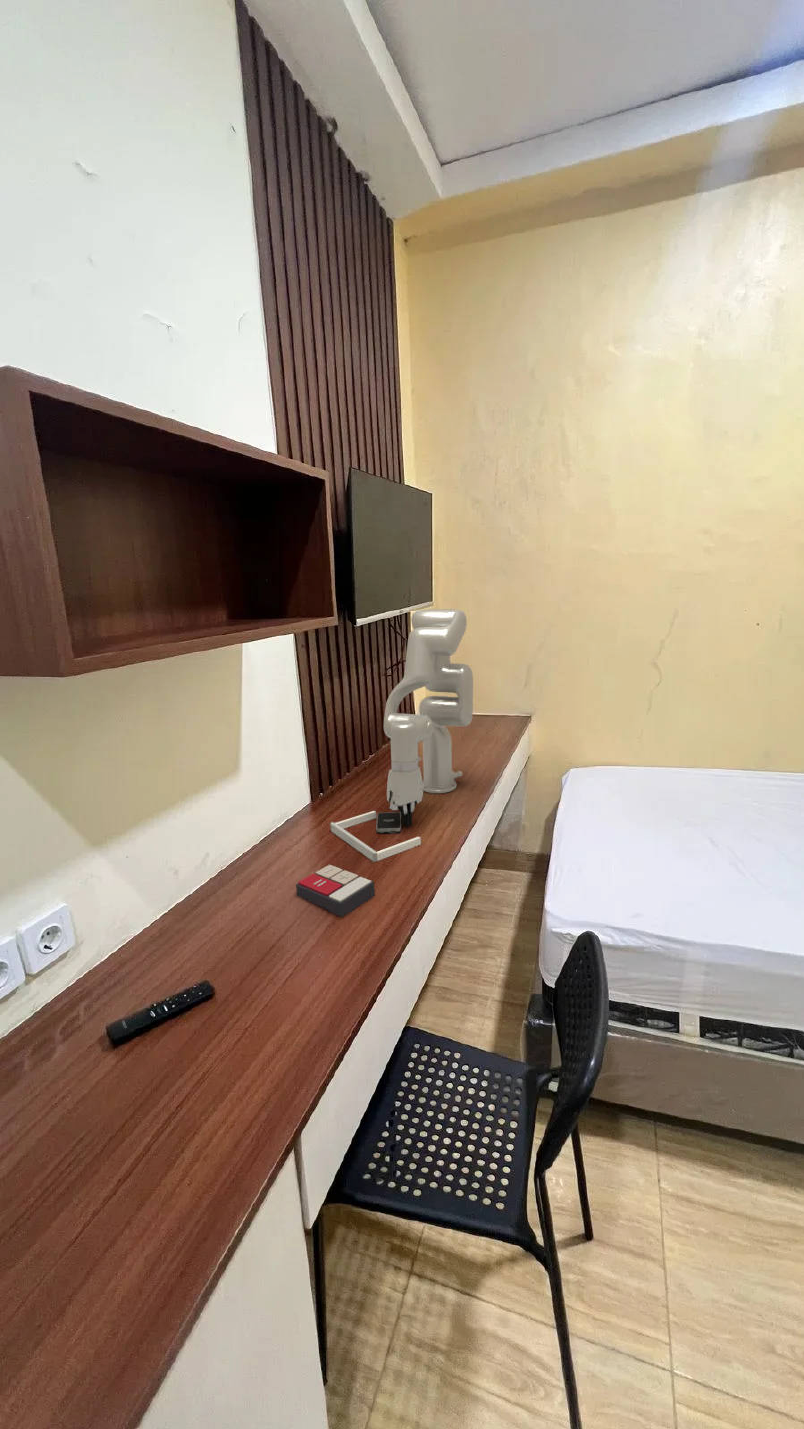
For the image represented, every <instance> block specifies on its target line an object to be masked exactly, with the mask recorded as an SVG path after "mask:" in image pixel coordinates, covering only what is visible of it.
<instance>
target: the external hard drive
mask: <svg viewBox="0 0 804 1429" xmlns="http://www.w3.org/2000/svg"><path fill="white" fill-rule="evenodd" d="M375 831H376V834H377V835H383V834H384V835H385V834H386V835H389V834H390V835H391V834H392V835H393V834H401V832H402V823H401V812H400V811H398V812H397V811H396V812H392V811H390V812H378V813H376V828H375Z"/></svg>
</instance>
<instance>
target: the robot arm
mask: <svg viewBox="0 0 804 1429" xmlns="http://www.w3.org/2000/svg"><path fill="white" fill-rule="evenodd" d="M410 621H411V627H412V630H411V631H410V632H409V634H408V639H407V647H406V654H405V655H406V656H405V657H406V658H405V667H404V674H403V677H402V680H400V681H399V683H398V684H397V685H395V687H394V688H393V689H392V691H391V692H390V694H389V696H388V698H387V699H386V700H387V701H386V702H385V707H384V708H385V709H384V716H383V731H384V734H385V736H386V737H388V738H389V739H390V757H391V769H389V770H388V776H387V785H386V800H387V802H388V803H390V804H389V809H390V810H392V811H398V812H400V813H401V825H404V826H405V827H407V828H408V827H410V826H412V825H413V812H414V811H415V807H416V805H417V804H419V803H421V802H422V801H423V796H424V792H426V793H428V794H445V793H450V792H453V791H454V790H455V789H456V788H457V782H456V781H455V780H456V779H457V778H460V777H463V772H462V771H461V770H459V771H456V772H455V771H454V770H453V769H452V767H453V766H452V735H451V733H450V731H449V730H448V728H447V726H449V727H467V726H469V725H470V724H471V722H472V720H473V714H474V713H473V712H474V710H473V709H474V706H473V705H474V704H473V703H474V677H473V676H474V675H473V671H472V669H471V666H470V665H468V664H465V663H459V662H458V663H454V662H453V663H452V662H451V656H453V655H454V654H455V653H457V651H458V648H459V646H460V644H461V642H462V639H463V637H464V635H465V632H466V630H467V623H468V622H467V616H466V614H465V612H464V611H463V610H461V609H458V608H457V609H452V608H451V609H449V608H446V609H445V608H444V609H440V608H437V609H436V608H430V609H419V610H416V611H414V612H413V613H412V615H411V620H410ZM424 687H425V689H426V691H427V690H428V691H430V692H434V693H447V694H449V693H452V694H456V696H447V695H446V696H445V695H429V696H426V697H424V698H423V699H422V700H420V702H419V705H418V707H419V708H418V709H419V710H418V712H419V714H412V713H401V712H400V713H398V709H399V706H400V704H401V702H402V700H403V699H404V698H405V697H406V696H407V695H409V694H410V693H413V692H415V691H417V690H419V689H422V688H424ZM419 743H422V760H423V761H422V760H421V756H419V752H418V750H419V748H418V747H419ZM421 761H422V762H423V774H422V772H421V767H420V766H419V762H421ZM422 775H423V777H422Z"/></svg>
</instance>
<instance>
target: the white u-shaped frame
mask: <svg viewBox="0 0 804 1429" xmlns="http://www.w3.org/2000/svg"><path fill="white" fill-rule="evenodd" d="M374 819H377V811H376V810H372V811H369V812H366V813H363V814H359V815H357V816H353V817H350V818H347V819H343V820H340V821H337V822H334V821H332V822H330V824H329V825H330V831H331V833H332V834H335V836H337V837H338V838H340V839H341V840H342V841H344V842H346V843H347V844H348V845H349V846H351V847H352V848H354V849H355V850H357V851H358V852H360V853H361V854H362V855H364V856H365V857H366V858H368V859H369V860H370V861H372V862H374V863H376V862H378V861H381V860H384V859H386V858H390V857H391V856H394V855H398V854H400V853H402V852H405V851H408V850H410V849H413V848H415V846H416V847H418V845H419V846H421V844H422V842H421V841H422V840H421V839H422V838H421V837H420V836H416V837H414V838H410V839H408V840H405V841H403V842H400V843H396V844H394V845H392V846H389V847H387V848H383V849H381V850H379V851H376V850H375V849H373V848H372V847H370V846H369V845H367V844H366V843H365V842H363V841H361V840H360V839H358V838H357V837H355V836H354V835H352V833H350V832H349V831H348V830H346V829H347V828H349V827H353V826H356V825H359V824H362V823H365V822H368V821H371V820H374Z"/></svg>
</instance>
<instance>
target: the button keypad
mask: <svg viewBox="0 0 804 1429" xmlns="http://www.w3.org/2000/svg"><path fill="white" fill-rule="evenodd" d="M374 882H375V881H372V880H370V879H367V878H365V877H362V876H360V875H358V874H356V873H353V872H351V871H348V870H343V869H342V868H339V867H337V866H334V865H332V864H328V865H327V866H324V867H323V868H320V869H319V870H316V872H315V873H311V874H310V875H309V876H306V877H305V878H303V879H301V880H299V881H298V882H297V884H295V889H296V895H297V896H298V897H300V898H302V899H305V900H306V901H308V902H310V903H312V904H314V905H316V906H319V907H321V908H323V909H325V910H327V911H328V912H330V913H331V914H334V915H335V916H338V917H340V918H344V917H345V916H347V915H348V914H350V913H352V911H354V910H356V909H357V908H358V907H360V906H362V905H363V904H365V903H366V902H367V901H369V900H371V899H372V898H373V897H375V896H376V891H375V890H376V889H375V883H374Z"/></svg>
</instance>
